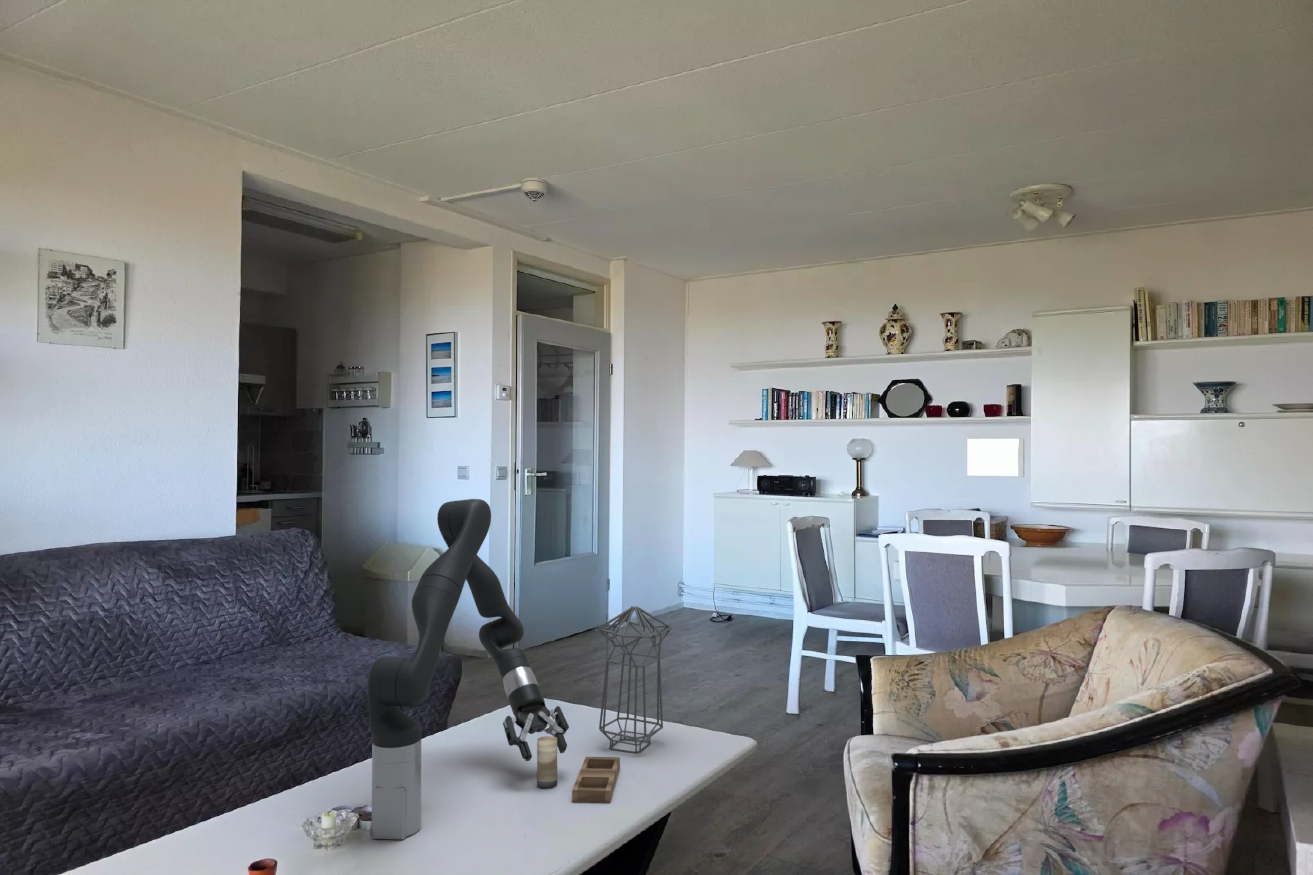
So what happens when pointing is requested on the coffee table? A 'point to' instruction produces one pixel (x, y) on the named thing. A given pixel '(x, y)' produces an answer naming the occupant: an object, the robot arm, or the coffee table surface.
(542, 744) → the banded peg
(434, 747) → the coffee table surface
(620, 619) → the geometric lantern
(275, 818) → the coffee table surface
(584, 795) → the socket block
